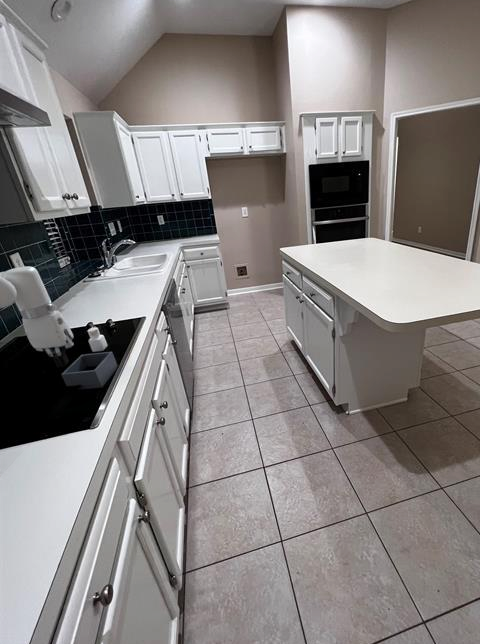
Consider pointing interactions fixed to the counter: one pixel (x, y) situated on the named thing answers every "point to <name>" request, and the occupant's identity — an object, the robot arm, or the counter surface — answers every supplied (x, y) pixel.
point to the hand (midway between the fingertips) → (63, 364)
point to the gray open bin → (93, 377)
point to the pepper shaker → (96, 340)
